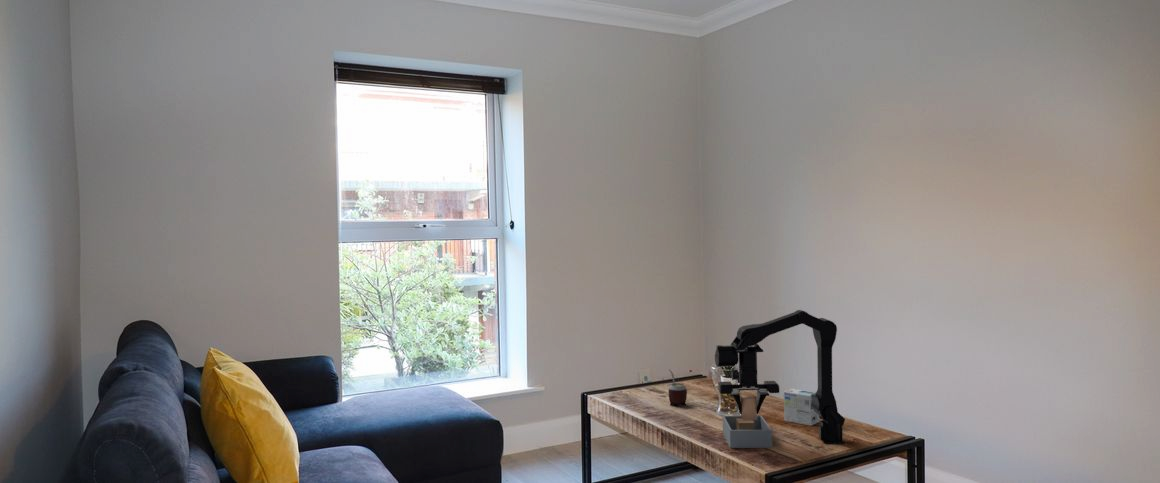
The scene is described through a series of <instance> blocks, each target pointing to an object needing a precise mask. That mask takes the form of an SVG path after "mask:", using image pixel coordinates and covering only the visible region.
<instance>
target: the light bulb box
mask: <svg viewBox="0 0 1160 483" xmlns="http://www.w3.org/2000/svg"><path fill="white" fill-rule="evenodd" d="M816 392H817V391H811V390H806V389H805V390H804V389H797V388H789V389H787V390H784V391H783V419H784V422H790V423H794V424H799V425H800V424H801V425H805V426H811V427H812V426H814V425H816V424H818V423H820V421H821V419H820V418H819V415H818V414H817V413H816V412H815V411H814V409H813V407H812V406H811V404H812V397H811V394H816Z"/></svg>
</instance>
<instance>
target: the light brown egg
mask: <svg viewBox="0 0 1160 483" xmlns="http://www.w3.org/2000/svg"><path fill="white" fill-rule="evenodd" d="M740 400H741V410H742V411H741V414H740V416H741V419H743V420H756V419H757V416H758V414H757V395H753V394H743V395H740Z"/></svg>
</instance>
